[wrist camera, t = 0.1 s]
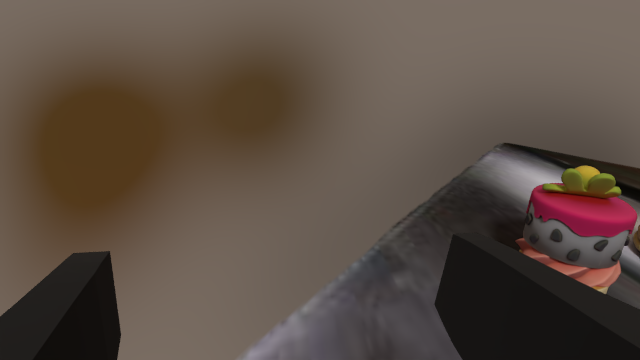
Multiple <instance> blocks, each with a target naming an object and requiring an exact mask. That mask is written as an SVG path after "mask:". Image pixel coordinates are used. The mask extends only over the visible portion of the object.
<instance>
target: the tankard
mask: <svg viewBox="0 0 640 360" xmlns="http://www.w3.org/2000/svg"><path fill="white" fill-rule="evenodd" d="M633 242H634V244H635V246H636V248H637V249H638V250H639V251H640V225H639V227H638V231H636V232H635V234H634V236H633Z"/></svg>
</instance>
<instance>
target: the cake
mask: <svg viewBox="0 0 640 360" xmlns="http://www.w3.org/2000/svg"><path fill="white" fill-rule="evenodd" d="M561 179H562V182H563V183H550V184H543V185H539V186H537V187H536V188H534V189H533V191H532V194H531V197H530V200H529V205H528V208H527V212H526V213H527V216H526V219H525V222H526V223H525V227H524V230H523V238H521V239H518V240H516V242H517V244H518V245H519V247H520V248H521V249H520V250H519V252H521V253H523V254H525V255H527V256H529V257H531V258H533V259H535V260H537V261H539V262H541V263H543V264H545V265H547V266H549V267H551V268H553V269H555V270H557V271H559V272H561V273H563V274H565V275H567V276H569V277H571V278H573V279H575V280H577V281H579V282H581V283H583V284H586V285H588V286H590V287H592V288H594V289H596V290H598V291H600V292H602V293H604V294H606V292H607V290H608V287H609V286H610V285H611V284H612V283H614V282H615V281H616V280H617V278H618V276H619V275H620V273H621V268H620V263H619V257H620V256H621V254H622V249H623V247H624V246H627V245H628V244H629V242H630V239H629V237H628V233H629V234H632V231H633V228H634V226H635V223H636V220H637V213H636V211H635V210H634V209H633V207H631V206H630V205H629V204H628V203H626V202H625V201H623V200H621V199H619V198H617V196H619V195H620V194H621V190H620V188H619V187H614V186H615V184H616V181H615V179H614V177H613V176H612V175H609V174H605V173H603V174H600V172H599V171H598V170H597V169H596V168H593V167H590V166H580V167H578V168H576V169H567V170H566V171H564V172H563V174H562V177H561Z"/></svg>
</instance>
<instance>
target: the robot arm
mask: <svg viewBox="0 0 640 360" xmlns="http://www.w3.org/2000/svg"><path fill="white" fill-rule="evenodd" d="M435 307H436V309H437V311H438V313H439V316H440V318H441V320H442V322H443V325H444V327H445V329H446V331H447V333H448V335H449V337H450V339H451V341H452V343H453V345H454V346H455V348H456V350H457V351H458V353H459V355H460V356H461V358H462V359H463V360H640V309H637V308H635V307H633V306H631V305H629V304H626V303H624V302H622V301H620V300H618V299H615V298H613V297H611V296H609V295H607V294H604V293H602V292H600V291H598V290H596V289H594V288H592V287H590V286H588V285H586V284H583V283H581V282H579V281H577V280H575V279H573V278H571V277H569V276H567V275H565V274H563V273H561V272H559V271H557V270H555V269H553V268H551V267H549V266H547V265H545V264H543V263H541V262H539V261H537V260H535V259H533V258H531V257H529V256H527V255H525V254H523V253H521V252H519V251H517V250H515V249H513V248H511V247H509V246H506V245H504V244H502V243H500V242H498V241H496V240H493V239H491V238H489V237H486V236H484V235H481V234H478V233H463V234H453V237H452V240H451V244H450V248H449V252H448V255H447V259H446V263H445V267H444V270H443V274H442V278H441V282H440V285H439V289H438V293H437V297H436V300H435ZM120 338H121V332H120V324H119V316H118V309H117V301H116V294H115V286H114V280H113V271H112V264H111V257H110V251H106V252H88V253H73V254H72V255H71V256H69V257H68V258H67V259H66V260H65V261H64V262H62V263H61V264H60V265H59V266H58V267H57V268H56V269H55V270H53V271H52V272H51V273H50V274H49V275H48V276H46V277H45V278H44V279H43V280H42V281H41V282H40V283H39V284H37V285H36V286H35V287H34V288H33V289H32V290H31V291H29V292H28V293H27V294H26V295H25V296H24V297H23V298H21V299H20V300H19V301H18V302H17V303H16V304H15V305H13V306H12V307H11V308H10V309H9V310H7V311H6V312H5V313H4V314H3V315H2V316H0V360H117V356H118V350H119V343H120Z"/></svg>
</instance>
